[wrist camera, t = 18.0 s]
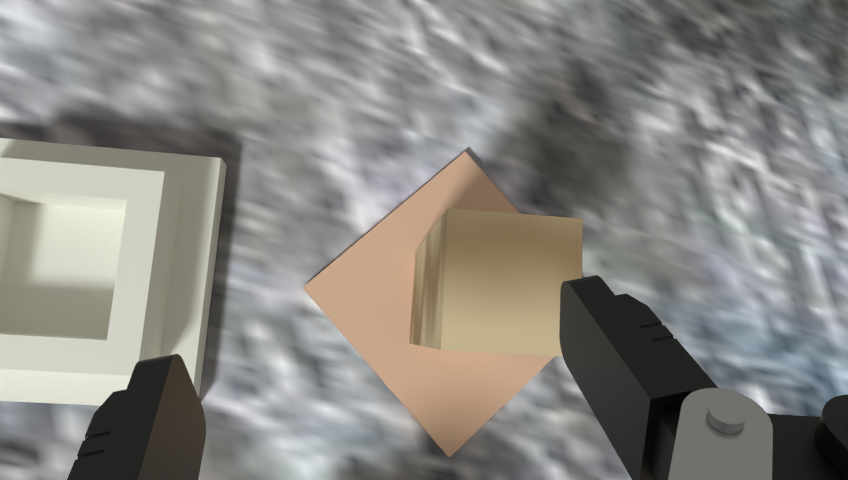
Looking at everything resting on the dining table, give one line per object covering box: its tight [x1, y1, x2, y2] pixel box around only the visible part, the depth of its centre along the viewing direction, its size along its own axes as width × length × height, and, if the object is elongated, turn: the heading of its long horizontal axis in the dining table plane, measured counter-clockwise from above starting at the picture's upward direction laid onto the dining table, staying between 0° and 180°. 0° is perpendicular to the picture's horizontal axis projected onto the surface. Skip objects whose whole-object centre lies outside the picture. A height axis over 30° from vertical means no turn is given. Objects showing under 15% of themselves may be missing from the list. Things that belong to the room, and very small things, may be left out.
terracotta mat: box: [303, 152, 554, 458], centre depth 33 cm, size 12×12×1 cm
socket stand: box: [0, 138, 227, 405], centre depth 29 cm, size 13×13×4 cm
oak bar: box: [409, 208, 583, 357], centre depth 27 cm, size 5×5×12 cm
